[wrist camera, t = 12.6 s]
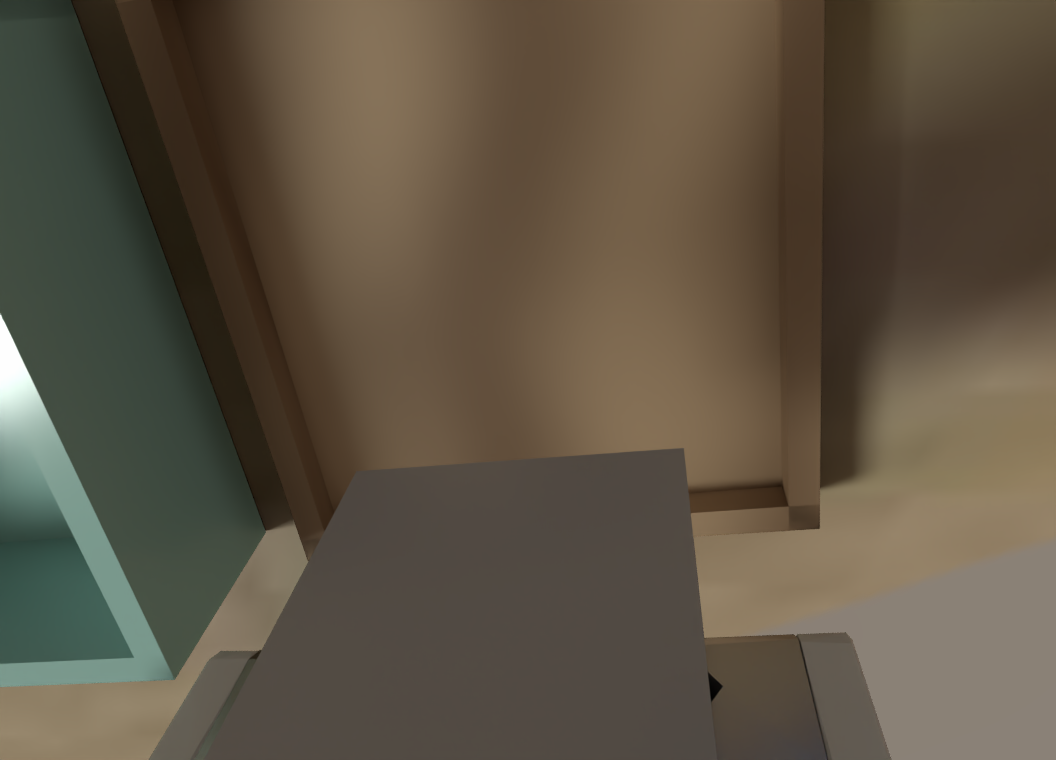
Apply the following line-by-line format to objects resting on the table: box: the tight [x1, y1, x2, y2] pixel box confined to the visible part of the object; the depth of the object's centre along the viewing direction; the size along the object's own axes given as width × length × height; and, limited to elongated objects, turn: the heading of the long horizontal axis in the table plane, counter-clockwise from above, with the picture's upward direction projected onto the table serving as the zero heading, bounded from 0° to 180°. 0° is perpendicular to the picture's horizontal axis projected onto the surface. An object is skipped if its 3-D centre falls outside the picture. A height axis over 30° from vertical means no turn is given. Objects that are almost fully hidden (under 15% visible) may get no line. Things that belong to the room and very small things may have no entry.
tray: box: [115, 0, 825, 561], centre depth 15 cm, size 11×12×1 cm
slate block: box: [204, 448, 717, 760], centre depth 8 cm, size 4×4×5 cm
